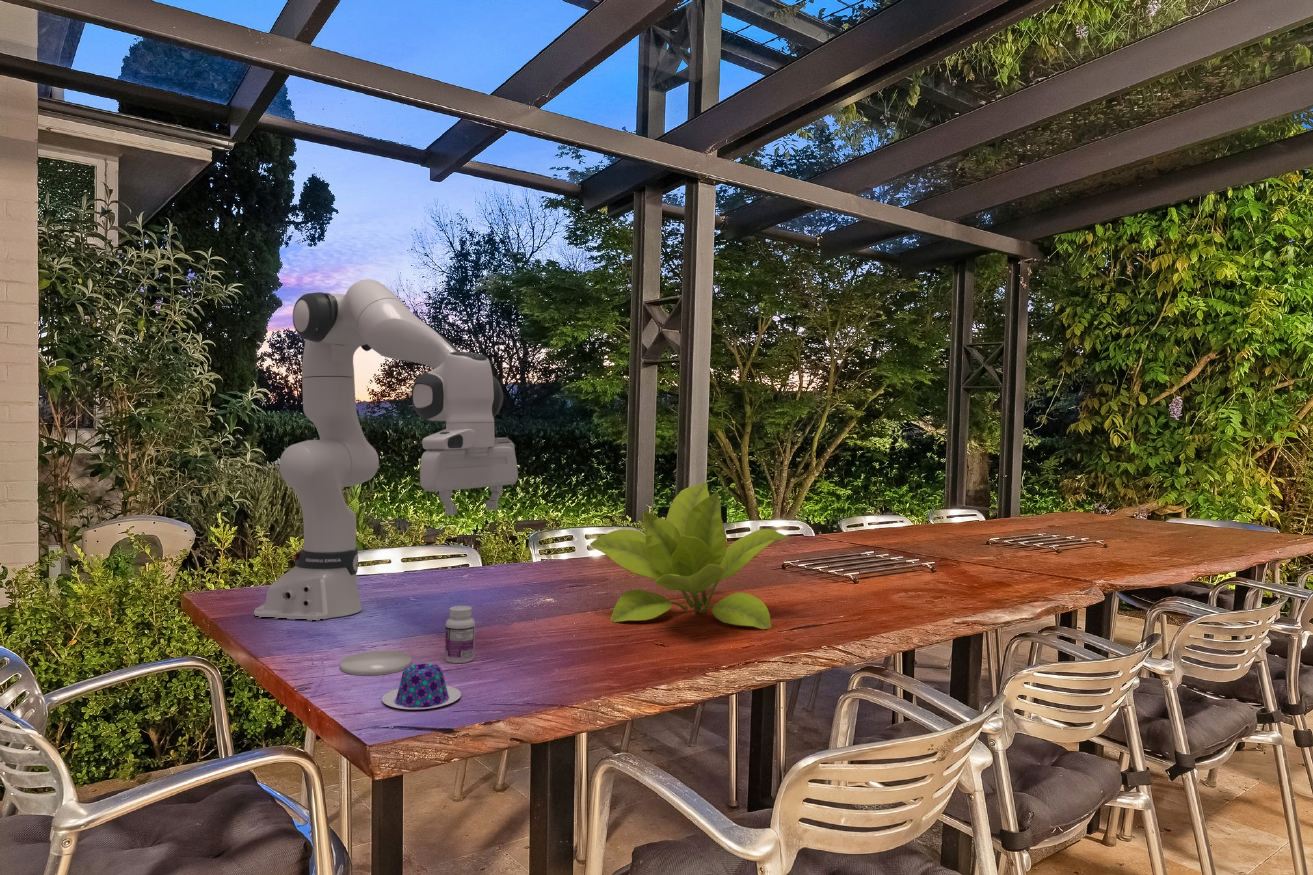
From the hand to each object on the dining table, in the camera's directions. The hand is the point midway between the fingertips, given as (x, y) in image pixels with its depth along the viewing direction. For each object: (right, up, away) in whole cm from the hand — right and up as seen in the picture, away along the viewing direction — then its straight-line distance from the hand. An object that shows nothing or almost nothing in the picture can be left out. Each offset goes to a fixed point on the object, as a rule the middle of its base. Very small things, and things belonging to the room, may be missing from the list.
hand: (472, 512), depth 157 cm
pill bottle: (-2, -27, -3) cm, 27 cm away
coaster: (-16, -27, -7) cm, 32 cm away
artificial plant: (+42, -28, +34) cm, 61 cm away
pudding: (-3, -28, -25) cm, 37 cm away
